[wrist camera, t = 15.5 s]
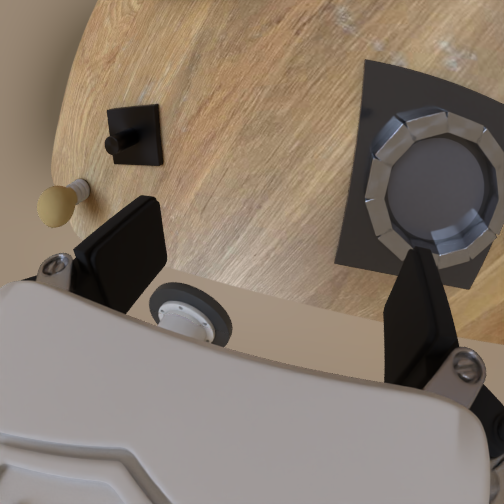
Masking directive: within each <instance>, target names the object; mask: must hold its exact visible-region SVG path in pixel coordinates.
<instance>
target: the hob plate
mask: <svg viewBox="0 0 504 504" xmlns="http://www.w3.org/2000/svg"><path fill="white" fill-rule="evenodd" d="M435 108H438V109H440V108H441V109H444V110H447V111H450V112H452V113H455V114H458V115H460V116H463V117H466V118H468V119H471V120H473V121H475V122H477V123H479V124H481V125H484V127H486V128H487V129H488V130H489V132H490V133H491V135H492V136H493V137H494V139H495V140H496V142H497V143H498V144H499V146H500V147H501V149H502V150H503V152H504V104H502V103H500V102H498V101H496V100H494V99H491V98H489V97H487V96H485V95H482V94H480V93H478V92H475V91H473V90H470V89H468V88H465V87H463V86H460V85H457V84H455V83H452V82H449V81H446V80H443V79H440V78H437V77H434V76H431V75H428V74H425V73H421V72H418V71H414V70H410V69H407V68H403V67H399V66H395V65H391V64H386V63H382V62H377V61H372V60H367V59H365V60H364V71H363V84H362V95H361V105H360V114H359V123H358V131H357V138H356V146H355V153H354V160H353V166H352V172H351V179H350V185H349V190H348V196H347V202H346V207H345V212H344V217H343V222H342V227H341V232H340V237H339V242H338V246H337V251H336V256H335V261H334V264H339V265H344V266H350V267H355V268H360V269H365V270H370V271H376V272H381V273H386V274H391V275H396V276H398V275H399V272H400V270H401V267H402V265H403V262H404V260H403V261H401V260H400V259H399V258H398V257H397V256H396V255H395V254H394V253H393V252H392V251H391V250H390V249H388V248H387V247H386V246H385V245H384V244H383V243H382V242H381V241H380V240H378V238H377V236H376V235H375V232H374V229H373V225H372V222H371V219H370V216H369V213H368V210H367V207H366V204H365V198H364V183H365V179H366V174H367V169H368V163H369V158H370V153H371V152H374V151H373V149H372V148H373V147H374V146H375V145H376V144H377V143H378V141H379V140H380V139H381V138H382V137H383V136H384V135H385V133H386V132H387V131H388V130H389V129H390V128H391V127H392V126H393V124H394V123H395V122H396V121H397V120H399V121H401V122H402V120H401V117H404V116H408V115H412V114H415V113H419V112H423V111H427V110H431V109H435ZM489 192H490V187H489V178H488V171H487V165H486V161H485V159H484V158H483V157H482V155H481V154H480V153H479V151H478V150H477V149H476V147H475V146H474V145H473V143H472V142H471V141H469V140H467V139H464V138H462V137H459V136H456V135H453V134H451V133H448V132H447V133H444V134H440V135H436V136H432V137H428V138H424V139H421V140H417V141H415V142H414V143H413V144H412V145H411V146H410V148H409V149H408V150H407V151H406V152H405V153H404V154H403V155H402V156H401V157H400V158H399V159H398V160H397V162H396V163H395V164H394V165H393V166H392V169H391V174H390V178H389V182H388V186H387V190H386V194H385V202H386V205H387V208H388V212H389V216H390V218H391V219H392V220H393V221H394V222H395V223H396V224H397V225H398V226H399V227H400V228H402V229H403V230H404V231H405V232H406V233H407V234H408V235H409V236H410V237H414V238H418V239H422V240H426V241H430V242H434V243H436V242H439V241H443V240H447V239H450V238H454V237H458V236H461V235H462V234H463V233H464V232H465V231H466V230H467V229H468V228H469V227H471V226H472V225H473V224H474V223H475V222H476V221H477V220H478V219H479V218H480V217H481V214H482V211H483V209H484V206H485V203H486V200H487V198H488V195H489ZM495 235H496V234H495ZM492 243H493V242H491V243H490V244H489V245H488V246H487V247H486V248H485V249H484V250H483V251H481V252H480V253H479V254H478V255H477V256H476V257H475V258H473V259H471V258H470V261H468V262H464V263H461V264H457V265H453V266H450V267H446V268H442V269H438V266H437V269H438V272H439V275H440V278H441V281H442V284H443V285H448V286H453V287H458V288H463V289H468V290H469V289H470V287H471V285H472V284H473V282H474V280H475V278H476V276H477V274H478V272H479V270H480V268H481V266H482V264H483V262H484V260H485V258H486V256H487V254H488V252H489V249H490V247H491V245H492Z"/></svg>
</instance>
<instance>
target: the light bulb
mask: <svg viewBox="0 0 504 504" xmlns="http://www.w3.org/2000/svg"><path fill="white" fill-rule="evenodd" d="M88 196H89V186H88V184H87V183H86V182H85V181H84V180H83V179H77V180H75V181H74V182H72V183H71V184H69V185H67V186H66V187H63V186H52V187H49V188H48V189H46V190H45V191H44V192H43V193H42V194H41V196H40V198H39V200H38V204H37V211H38V214H39V217H40V219H41V220H42V221H43V223H44V224H46V225H47V226H48V227H51V228H56V227H60V226H62V225H64V224H66V223H67V222H68V221H69V220H70V218H71V216H72V215H73V212H74V209H75V205H78V204H79V203H80V202H82V201H83V200H85V199H86V198H88Z"/></svg>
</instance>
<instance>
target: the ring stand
mask: <svg viewBox="0 0 504 504" xmlns="http://www.w3.org/2000/svg"><path fill="white" fill-rule="evenodd" d="M107 117H108V125H109V133H110V136H109V137H108V138H107V139H106V140H105V149H106V151H107V152H108V153H109V154H111V155H113V160H114V164H126V165H150V166H160V165H161V164H163V158H162V147H161V137H160V124H159V111H158V104H151V105H140V106H131V107H122V108H114V109H109V110H107Z"/></svg>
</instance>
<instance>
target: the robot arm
mask: <svg viewBox="0 0 504 504" xmlns="http://www.w3.org/2000/svg"><path fill="white" fill-rule="evenodd" d="M73 250H74V253H75V256H76V258H75V259H74V260H73V259H72V257H71V255H69V254H67V253H59V254H55V255H52V256H51V257H49V258H48V259H46V260H45V261H44V262H43V263H42V264H41V265H40V268H39V270H38V274H37V276H33V277H30V278H27V279H24V280H21V281H14V282H10V283H8V284H6V285H4V286H3V287H1V288H0V504H504V406H503V405H502V403H501V402H500V401H499V400H498V399H497V398H496V397H495V396H494V395H493V394H492V393H491V391H490V390H488V388H487V387H486V386H485V385H484V384H483V383H484V381H485V378H486V367H485V364H484V362H483V360H482V358H481V357H480V356H479V355H478V354H477V352H475V351H474V350H472V349H470V348H467V347H459V343H458V339H457V334H456V330H455V326H454V322H453V318H452V314H451V310H450V307H449V303H448V300H447V296H446V293H445V290H444V287H443V284H442V281H441V278H440V275H439V272H438V269H437V266H436V263H435V260H434V257H433V254H432V252H431V250H430V249H427V248H423V247H418V246H415V247H414V248H413V249H409V250H408V252H407V255H406V257H405V260H404V262H403V265H402V267H401V270H400V272H399V275H398V277H397V279H396V282H395V284H394V286H393V288H392V291H391V293H390V295H389V297H388V300H387V302H386V304H385V307H384V312H383V317H384V346H385V347H384V348H385V374H384V375H385V377H384V383H383V382H377V381H371V380H364V379H359V378H353V377H348V376H343V375H338V374H333V373H327V372H322V371H317V370H312V369H307V368H303V367H298V366H294V365H290V364H286V363H281V362H277V361H273V360H269V359H265V358H261V357H257V356H254V355H250V354H246V353H242V352H238V351H235V350H231V349H228V348H224V347H221V346H218V345H214V344H211V342H212V341H213V339H214V337H215V329H214V326H213V324H212V323H211V321H210V320H209V319H208V317H207V316H206V315H204V314H203V313H202V312H201V311H200V310H198V309H197V308H195V307H193V306H191V305H189V304H187V303H184V302H180V301H167V302H165V303H163V305H162V306H161V307H160V309H159V312H158V314H159V319H160V322H159V324H158V325H157V326H156V325H153V324H150V323H147V322H145V321H142V320H139V319H137V318H134V317H131V316H129V315H126V313H127V312H128V311H129V309H130V308H131V307H132V305H133V304H134V303H135V302H136V300H137V299H138V298H139V297H140V295H141V294H142V293H143V292H144V290H145V289H146V288H147V287H148V285H149V284H150V283H151V282H152V281H153V279H154V278H155V277H156V276H157V274H158V273H159V272H160V271H161V270H162V268H163V267H164V266H165V264H166V262H167V252H166V245H165V239H164V232H163V225H162V218H161V210H160V204H159V202H158V201H157V200H156V198H155V197H151V196H144V195H141V196H139V197H138V198H136V199H135V200H134V201H132V202H131V203H130V204H128V205H127V206H126V207H124V208H123V209H122V210H121V211H119V212H118V213H117V214H115V215H114V216H113V217H112V218H110V219H109V220H108V221H107V222H105V223H104V224H103V225H102V226H100V227H99V228H98V229H97V230H96V231H94V232H93V233H92V234H91V235H90V236H88V237H87V238H86V239H85V240H84V241H82V242H81V243H80V244H79V245H78V246H77V247H75V248H74V249H73Z"/></svg>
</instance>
